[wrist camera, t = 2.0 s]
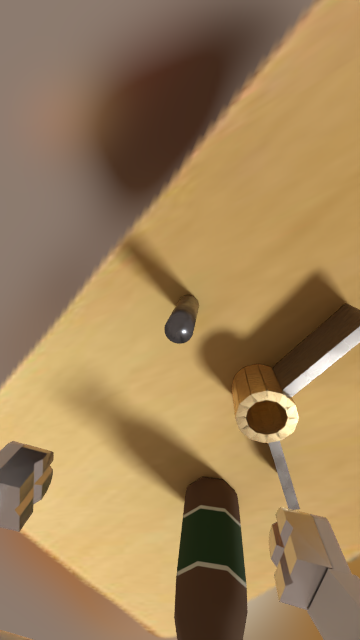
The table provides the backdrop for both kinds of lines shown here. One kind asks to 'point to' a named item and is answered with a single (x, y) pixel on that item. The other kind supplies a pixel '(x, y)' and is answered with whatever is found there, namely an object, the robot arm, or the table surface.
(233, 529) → the beer bottle
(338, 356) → the hinge
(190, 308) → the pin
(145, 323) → the table surface
